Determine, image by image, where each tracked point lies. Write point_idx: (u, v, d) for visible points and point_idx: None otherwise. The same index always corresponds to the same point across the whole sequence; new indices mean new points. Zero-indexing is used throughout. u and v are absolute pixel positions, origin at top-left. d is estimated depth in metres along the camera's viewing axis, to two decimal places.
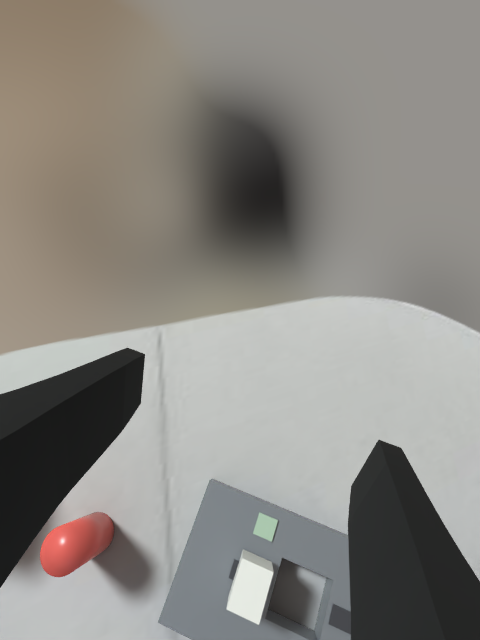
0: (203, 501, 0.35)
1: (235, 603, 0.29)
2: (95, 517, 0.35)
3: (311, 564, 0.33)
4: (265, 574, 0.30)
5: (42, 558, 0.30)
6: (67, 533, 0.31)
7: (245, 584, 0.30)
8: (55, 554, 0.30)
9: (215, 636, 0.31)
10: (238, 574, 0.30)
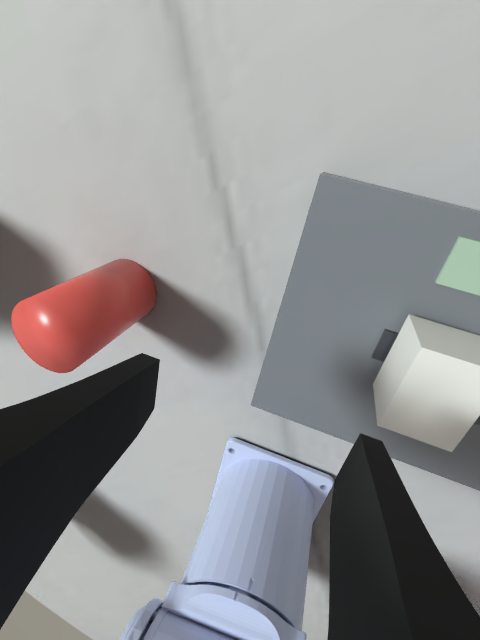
0: (308, 225, 0.15)
1: (398, 419, 0.14)
2: (107, 271, 0.19)
3: None
4: None
5: (24, 348, 0.17)
6: (40, 312, 0.15)
7: (427, 392, 0.13)
8: (39, 343, 0.16)
9: (347, 426, 0.19)
10: (409, 375, 0.13)
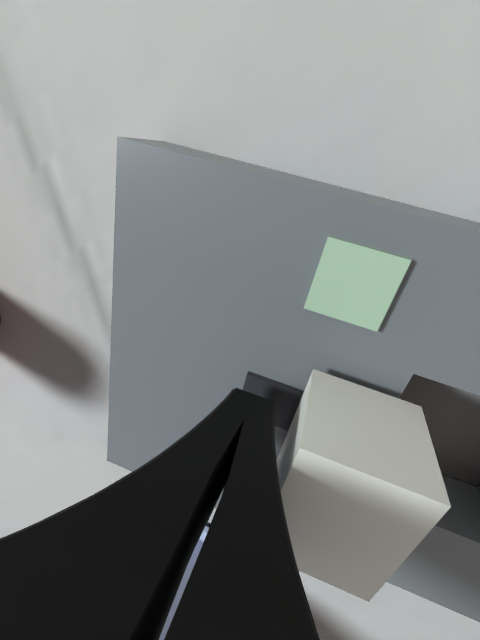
0: (119, 217, 0.10)
1: None
2: None
3: None
4: (408, 505, 0.07)
5: None
6: None
7: (319, 515, 0.08)
8: None
9: None
10: (287, 488, 0.07)
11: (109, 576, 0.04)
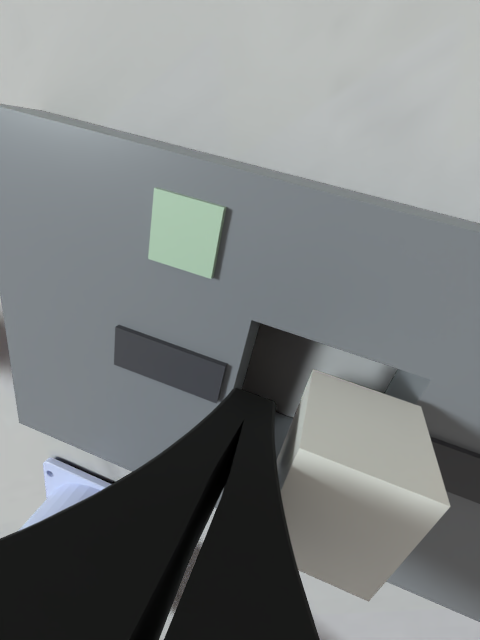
0: None
1: None
2: None
3: (353, 337, 0.09)
4: (407, 505, 0.07)
5: None
6: None
7: (318, 515, 0.08)
8: None
9: (123, 452, 0.14)
10: (287, 488, 0.07)
11: (109, 576, 0.04)
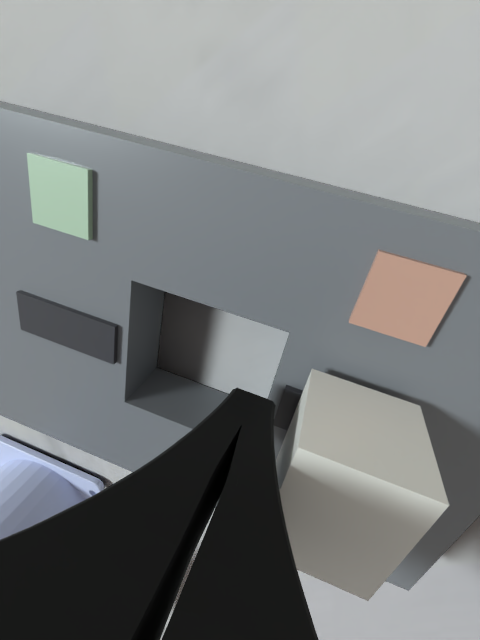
0: None
1: None
2: None
3: (218, 294, 0.10)
4: (406, 504, 0.07)
5: None
6: None
7: (317, 514, 0.08)
8: None
9: (44, 419, 0.15)
10: (286, 487, 0.07)
11: (110, 577, 0.04)
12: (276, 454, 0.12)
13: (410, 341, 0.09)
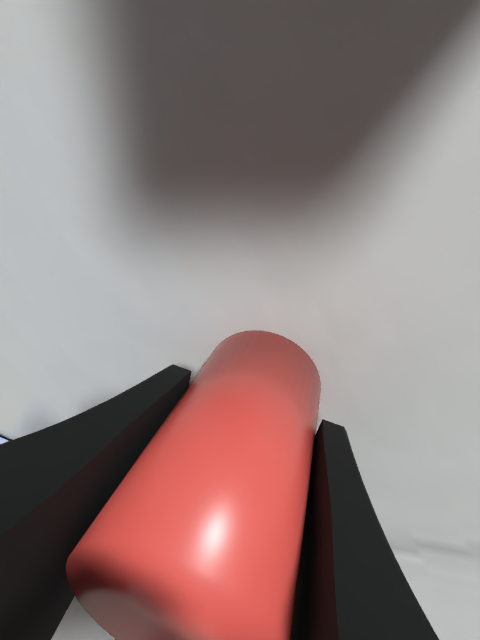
0: None
1: None
2: None
3: None
4: None
5: (107, 549, 0.05)
6: None
7: None
8: (143, 598, 0.05)
9: None
10: None
11: None
12: None
13: None
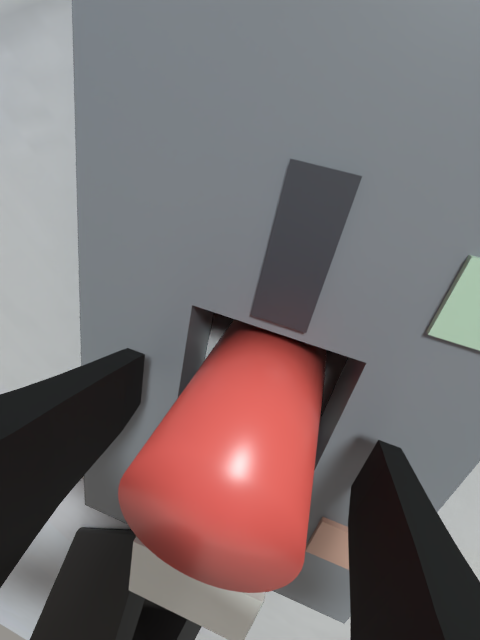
0: None
1: (152, 562, 0.10)
2: None
3: (346, 441, 0.10)
4: (232, 631, 0.10)
5: (154, 465, 0.06)
6: (269, 548, 0.06)
7: (200, 591, 0.10)
8: (184, 508, 0.07)
9: (109, 136, 0.09)
10: None
11: None
12: None
13: (308, 543, 0.13)
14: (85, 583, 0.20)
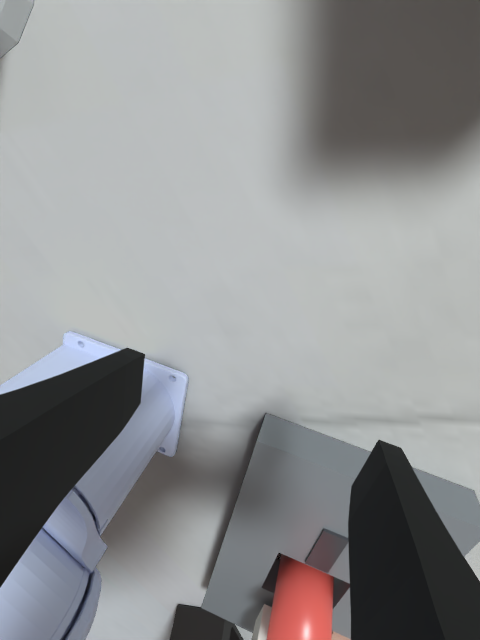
0: (447, 516, 0.18)
1: None
2: None
3: (343, 606, 0.24)
4: None
5: None
6: None
7: None
8: None
9: (252, 503, 0.22)
10: None
11: None
12: (263, 595, 0.26)
13: None
14: None
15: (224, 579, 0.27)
